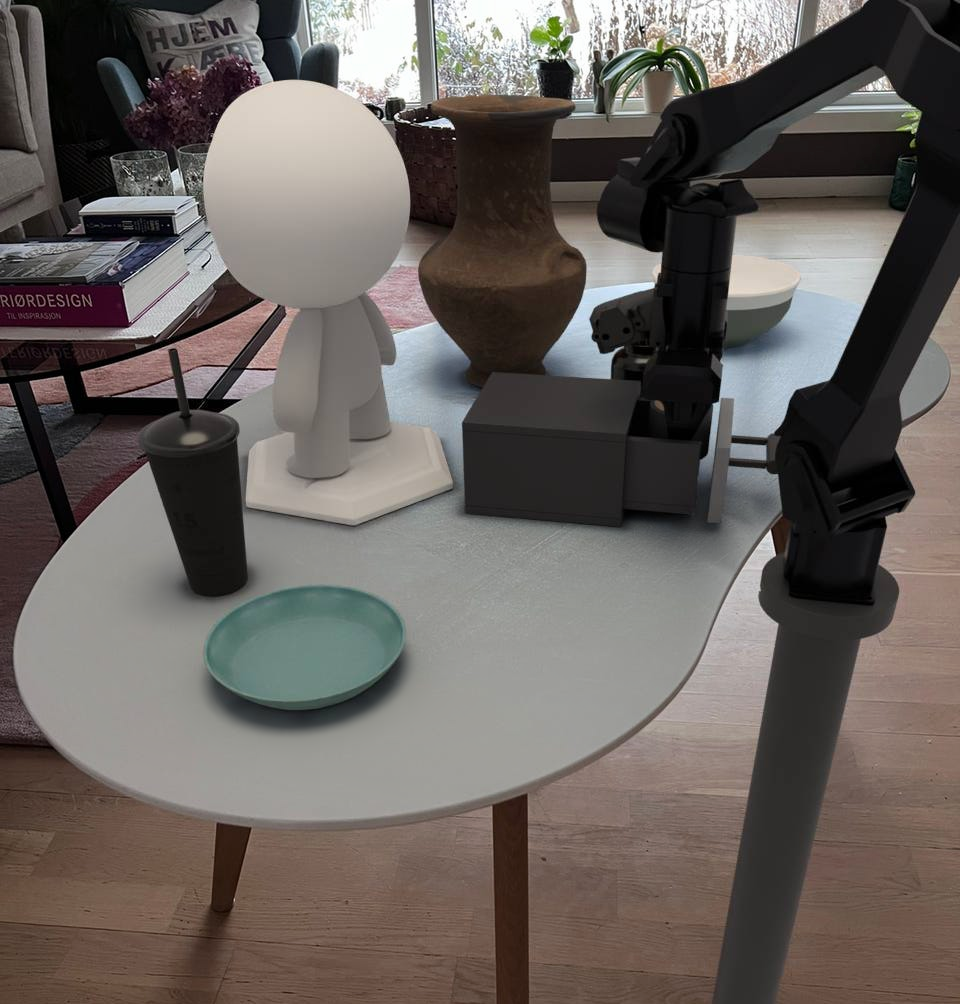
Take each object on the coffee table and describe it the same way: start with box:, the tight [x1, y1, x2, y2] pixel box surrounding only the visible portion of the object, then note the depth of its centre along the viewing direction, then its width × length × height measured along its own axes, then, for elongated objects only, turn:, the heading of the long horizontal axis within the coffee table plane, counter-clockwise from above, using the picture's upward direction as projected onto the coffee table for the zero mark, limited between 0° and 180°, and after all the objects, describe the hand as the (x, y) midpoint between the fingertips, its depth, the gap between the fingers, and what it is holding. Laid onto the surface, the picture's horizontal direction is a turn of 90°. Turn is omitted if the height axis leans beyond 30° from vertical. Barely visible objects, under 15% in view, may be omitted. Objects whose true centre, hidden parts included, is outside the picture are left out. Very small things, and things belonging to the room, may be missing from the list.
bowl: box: [651, 253, 802, 348], centre depth 132 cm, size 19×19×8 cm
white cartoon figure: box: [202, 79, 454, 526], centre depth 93 cm, size 20×23×35 cm
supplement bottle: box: [610, 337, 657, 397], centre depth 105 cm, size 7×7×12 cm
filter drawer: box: [623, 397, 780, 524], centre depth 94 cm, size 18×11×7 cm, turn 77°
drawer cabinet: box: [461, 372, 641, 528], centre depth 97 cm, size 15×13×9 cm
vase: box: [417, 93, 588, 388], centre depth 116 cm, size 19×19×30 cm
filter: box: [648, 400, 714, 461], centre depth 93 cm, size 6×6×5 cm
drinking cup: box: [137, 347, 249, 597], centre depth 81 cm, size 8×8×20 cm
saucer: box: [202, 584, 407, 711], centre depth 75 cm, size 15×15×3 cm
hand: (679, 440), depth 93 cm, fingers closed on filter, 5 cm apart
